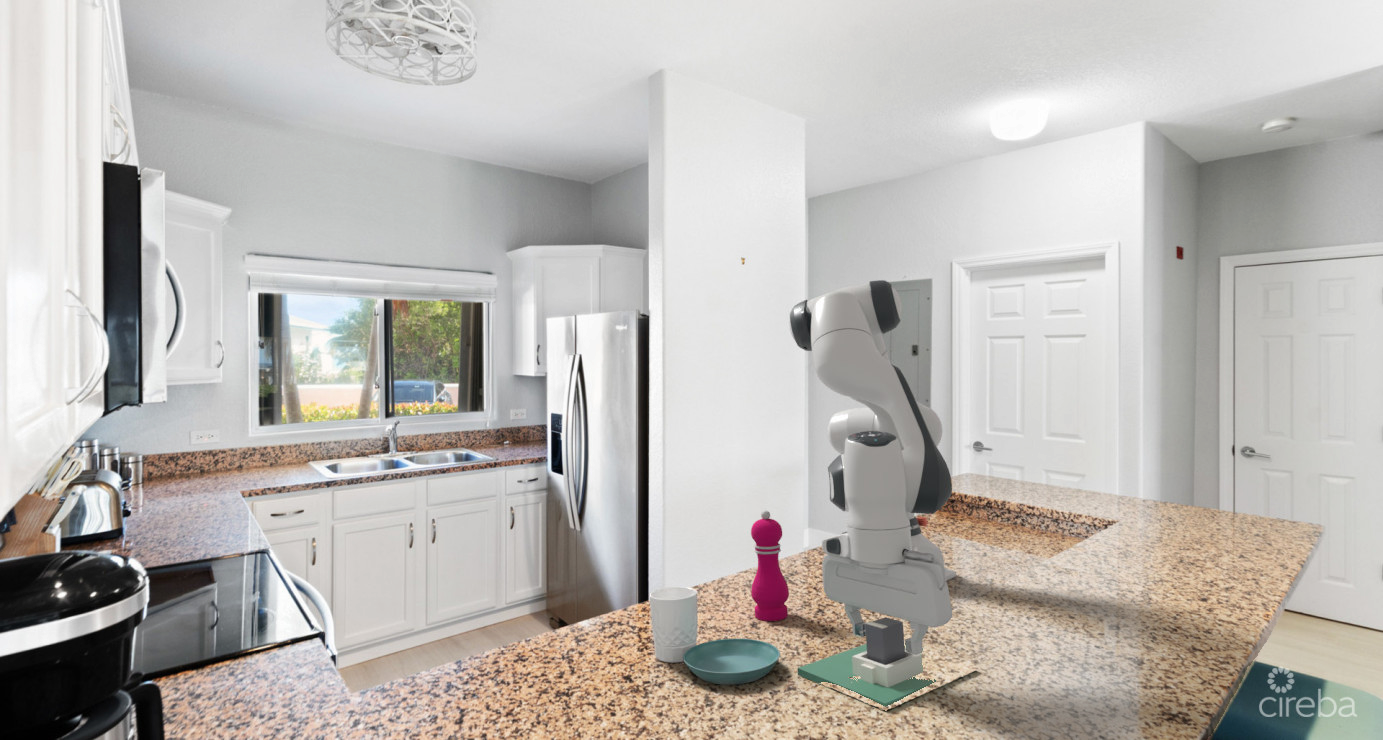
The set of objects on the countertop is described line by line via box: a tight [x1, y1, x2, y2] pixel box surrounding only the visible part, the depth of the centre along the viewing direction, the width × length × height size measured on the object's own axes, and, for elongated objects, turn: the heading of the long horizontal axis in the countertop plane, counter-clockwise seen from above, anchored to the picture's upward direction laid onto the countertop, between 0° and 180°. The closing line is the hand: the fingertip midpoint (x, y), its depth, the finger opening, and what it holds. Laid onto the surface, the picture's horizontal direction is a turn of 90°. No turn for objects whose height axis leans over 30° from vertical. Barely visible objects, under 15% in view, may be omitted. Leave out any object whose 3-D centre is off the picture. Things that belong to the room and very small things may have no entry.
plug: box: [865, 616, 905, 665], centre depth 93 cm, size 4×3×7 cm, turn 125°
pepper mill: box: [750, 510, 790, 622], centre depth 126 cm, size 7×7×20 cm
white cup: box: [649, 586, 699, 664], centre depth 107 cm, size 8×8×10 cm
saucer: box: [683, 638, 781, 686], centre depth 99 cm, size 15×15×3 cm
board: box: [796, 643, 936, 707], centre depth 95 cm, size 20×16×4 cm
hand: (886, 643), depth 93 cm, fingers open, 8 cm apart
